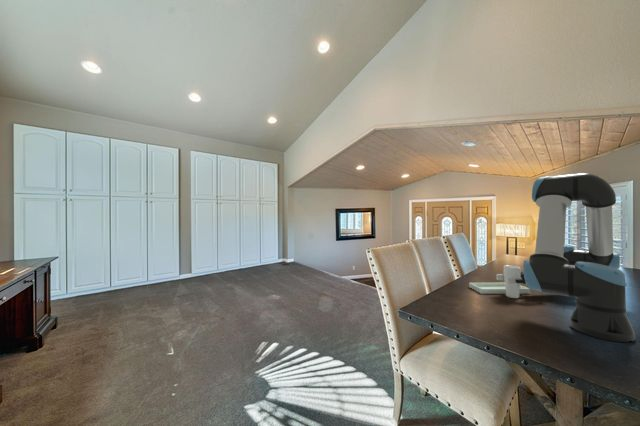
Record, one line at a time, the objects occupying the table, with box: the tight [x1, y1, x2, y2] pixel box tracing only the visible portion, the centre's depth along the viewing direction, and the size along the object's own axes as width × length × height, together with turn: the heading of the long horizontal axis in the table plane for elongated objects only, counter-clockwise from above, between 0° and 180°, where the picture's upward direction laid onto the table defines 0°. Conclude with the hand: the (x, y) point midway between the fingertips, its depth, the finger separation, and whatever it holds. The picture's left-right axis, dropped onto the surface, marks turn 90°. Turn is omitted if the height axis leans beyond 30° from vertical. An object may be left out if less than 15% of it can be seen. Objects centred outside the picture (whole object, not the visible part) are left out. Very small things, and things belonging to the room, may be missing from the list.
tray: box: [468, 281, 531, 295], centre depth 134 cm, size 24×12×2 cm, turn 88°
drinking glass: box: [503, 264, 522, 299], centre depth 124 cm, size 7×7×15 cm
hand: (502, 279), depth 124 cm, fingers closed on drinking glass, 6 cm apart
